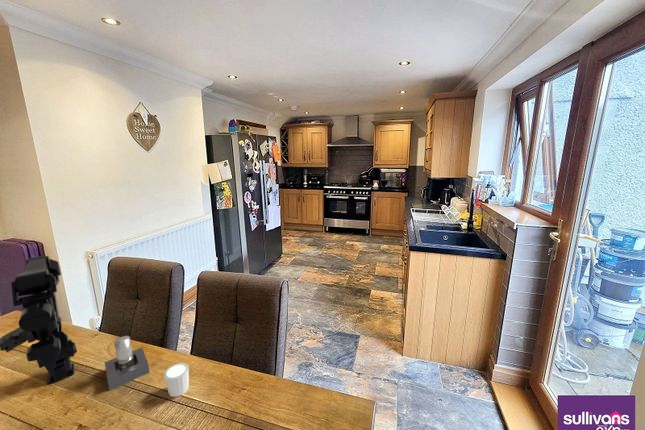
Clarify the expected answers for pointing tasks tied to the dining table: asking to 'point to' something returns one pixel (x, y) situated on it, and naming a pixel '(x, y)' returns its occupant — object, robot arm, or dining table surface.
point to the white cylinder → (177, 379)
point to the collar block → (126, 370)
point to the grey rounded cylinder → (124, 352)
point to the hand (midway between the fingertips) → (51, 361)
